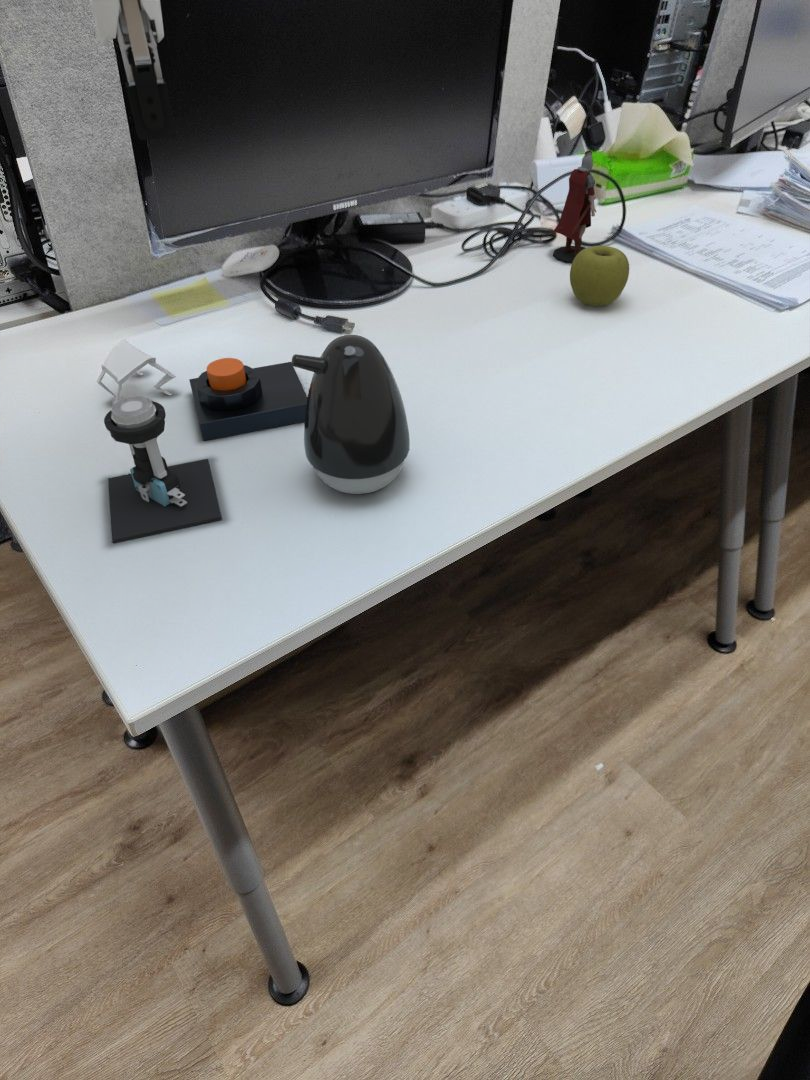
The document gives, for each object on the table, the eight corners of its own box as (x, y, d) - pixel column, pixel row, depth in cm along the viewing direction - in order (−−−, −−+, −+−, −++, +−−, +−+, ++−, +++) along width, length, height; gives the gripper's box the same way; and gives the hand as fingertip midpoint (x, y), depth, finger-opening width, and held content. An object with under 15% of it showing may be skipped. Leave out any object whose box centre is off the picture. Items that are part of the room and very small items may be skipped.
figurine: (605, 258, 118) (621, 152, 108) (567, 268, 115) (580, 161, 105) (577, 244, 122) (590, 142, 112) (540, 253, 120) (551, 149, 110)
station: (203, 441, 82) (196, 409, 80) (193, 395, 89) (185, 364, 87) (312, 420, 85) (308, 388, 82) (293, 377, 92) (289, 347, 89)
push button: (206, 495, 74) (184, 407, 68) (162, 524, 71) (135, 434, 65) (162, 471, 77) (137, 384, 71) (118, 497, 74) (88, 409, 68)
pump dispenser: (297, 459, 79) (279, 322, 69) (393, 441, 81) (388, 305, 71) (319, 519, 72) (301, 375, 62) (423, 497, 74) (423, 355, 64)
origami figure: (187, 406, 88) (178, 367, 84) (114, 426, 85) (101, 387, 81) (160, 362, 96) (151, 325, 92) (92, 379, 93) (80, 341, 89)
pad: (113, 543, 70) (111, 540, 70) (109, 481, 77) (107, 478, 77) (222, 519, 72) (221, 516, 72) (208, 461, 79) (207, 458, 79)
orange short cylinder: (212, 395, 82) (208, 378, 81) (207, 377, 85) (204, 361, 84) (249, 388, 83) (246, 371, 82) (243, 371, 86) (240, 355, 85)
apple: (601, 319, 102) (609, 267, 97) (554, 301, 106) (560, 250, 102) (634, 302, 106) (644, 251, 101) (588, 285, 110) (595, 235, 105)
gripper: (41, -149, 58) (108, 120, 70) (35, -154, 47) (115, 165, 59) (143, -151, 60) (191, 112, 72) (158, -156, 49) (212, 154, 61)
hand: (156, 135), depth 65 cm, fingers closed
